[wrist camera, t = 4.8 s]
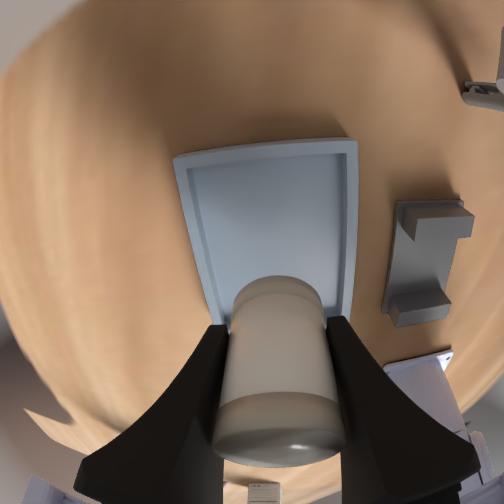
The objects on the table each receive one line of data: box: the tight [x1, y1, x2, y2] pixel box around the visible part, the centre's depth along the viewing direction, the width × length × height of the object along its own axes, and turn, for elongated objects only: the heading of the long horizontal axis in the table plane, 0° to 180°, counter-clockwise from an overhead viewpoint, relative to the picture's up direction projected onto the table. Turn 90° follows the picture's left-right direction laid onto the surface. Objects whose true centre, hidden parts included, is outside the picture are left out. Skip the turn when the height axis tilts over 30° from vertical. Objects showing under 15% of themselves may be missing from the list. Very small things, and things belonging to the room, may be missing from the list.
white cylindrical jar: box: [212, 275, 347, 468], centre depth 9 cm, size 4×4×6 cm
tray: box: [172, 137, 359, 334], centre depth 16 cm, size 12×9×2 cm
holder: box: [381, 200, 475, 328], centre depth 16 cm, size 8×5×2 cm, turn 7°
